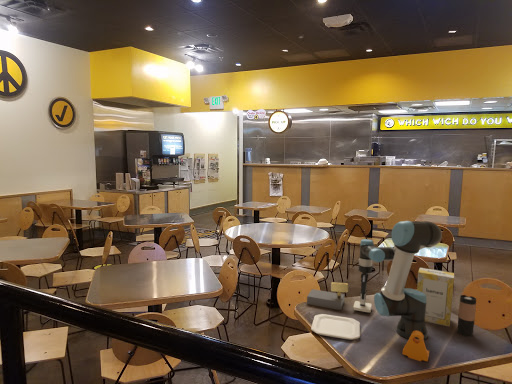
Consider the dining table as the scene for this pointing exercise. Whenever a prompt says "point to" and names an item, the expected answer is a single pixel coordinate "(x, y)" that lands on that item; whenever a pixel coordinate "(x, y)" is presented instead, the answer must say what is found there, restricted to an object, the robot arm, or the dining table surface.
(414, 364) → the dining table surface
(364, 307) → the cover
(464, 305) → the travel mug
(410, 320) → the robot arm
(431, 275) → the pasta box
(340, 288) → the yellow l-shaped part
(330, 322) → the plate
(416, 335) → the bracket
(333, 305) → the block
